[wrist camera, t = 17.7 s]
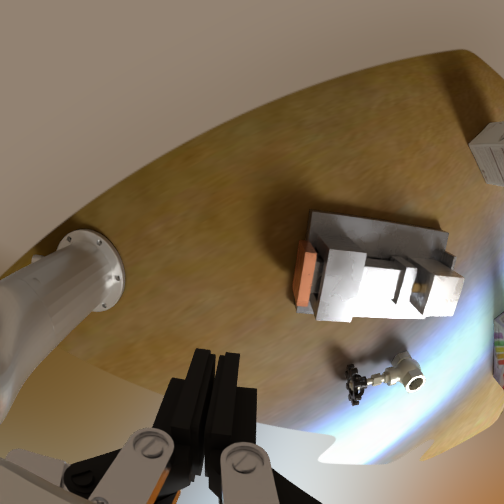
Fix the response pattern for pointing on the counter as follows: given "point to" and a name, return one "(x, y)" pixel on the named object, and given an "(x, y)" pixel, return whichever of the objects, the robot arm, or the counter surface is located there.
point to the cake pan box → (499, 349)
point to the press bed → (378, 249)
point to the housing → (435, 288)
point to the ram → (372, 283)
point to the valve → (386, 377)
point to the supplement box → (490, 153)
